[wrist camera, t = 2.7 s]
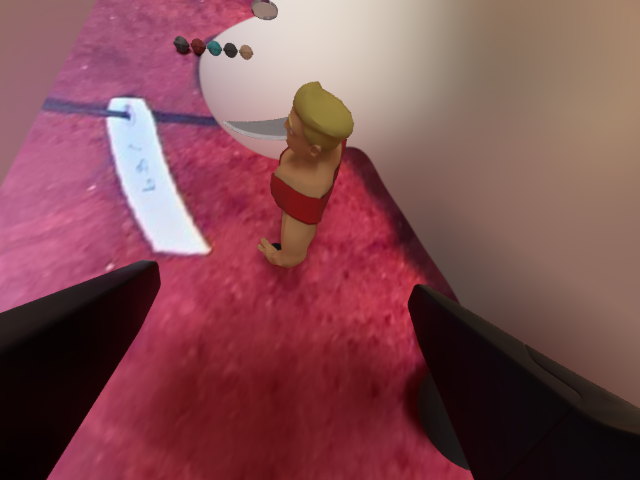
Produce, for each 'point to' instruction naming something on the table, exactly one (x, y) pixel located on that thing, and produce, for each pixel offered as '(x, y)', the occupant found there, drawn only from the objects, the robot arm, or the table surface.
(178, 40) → the beads
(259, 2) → the grey flat disc
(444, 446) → the light bulb
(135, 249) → the table surface
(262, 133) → the knife
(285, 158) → the action figure
